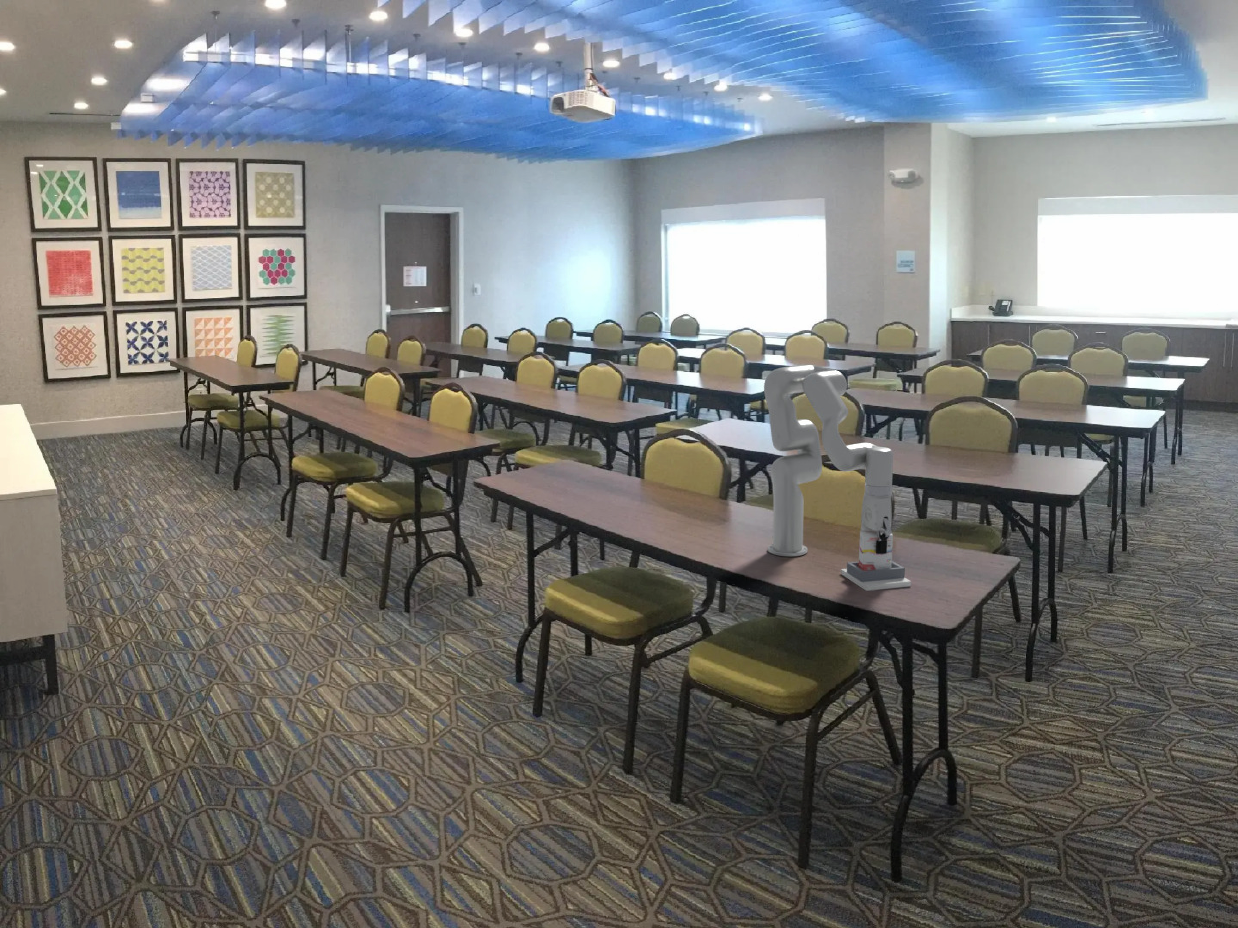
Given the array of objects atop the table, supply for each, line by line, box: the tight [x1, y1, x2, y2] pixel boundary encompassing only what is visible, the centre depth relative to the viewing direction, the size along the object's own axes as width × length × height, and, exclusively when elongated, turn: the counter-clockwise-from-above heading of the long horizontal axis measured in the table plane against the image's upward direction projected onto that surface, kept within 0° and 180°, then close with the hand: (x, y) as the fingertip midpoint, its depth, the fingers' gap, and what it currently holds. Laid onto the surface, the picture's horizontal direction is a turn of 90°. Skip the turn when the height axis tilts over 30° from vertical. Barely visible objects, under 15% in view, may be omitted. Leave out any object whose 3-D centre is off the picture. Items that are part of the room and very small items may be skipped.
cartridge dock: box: [840, 560, 912, 592], centre depth 281 cm, size 16×14×4 cm
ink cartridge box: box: [858, 521, 894, 571], centre depth 280 cm, size 9×5×15 cm, turn 92°
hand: (875, 549), depth 280 cm, fingers closed on ink cartridge box, 5 cm apart
